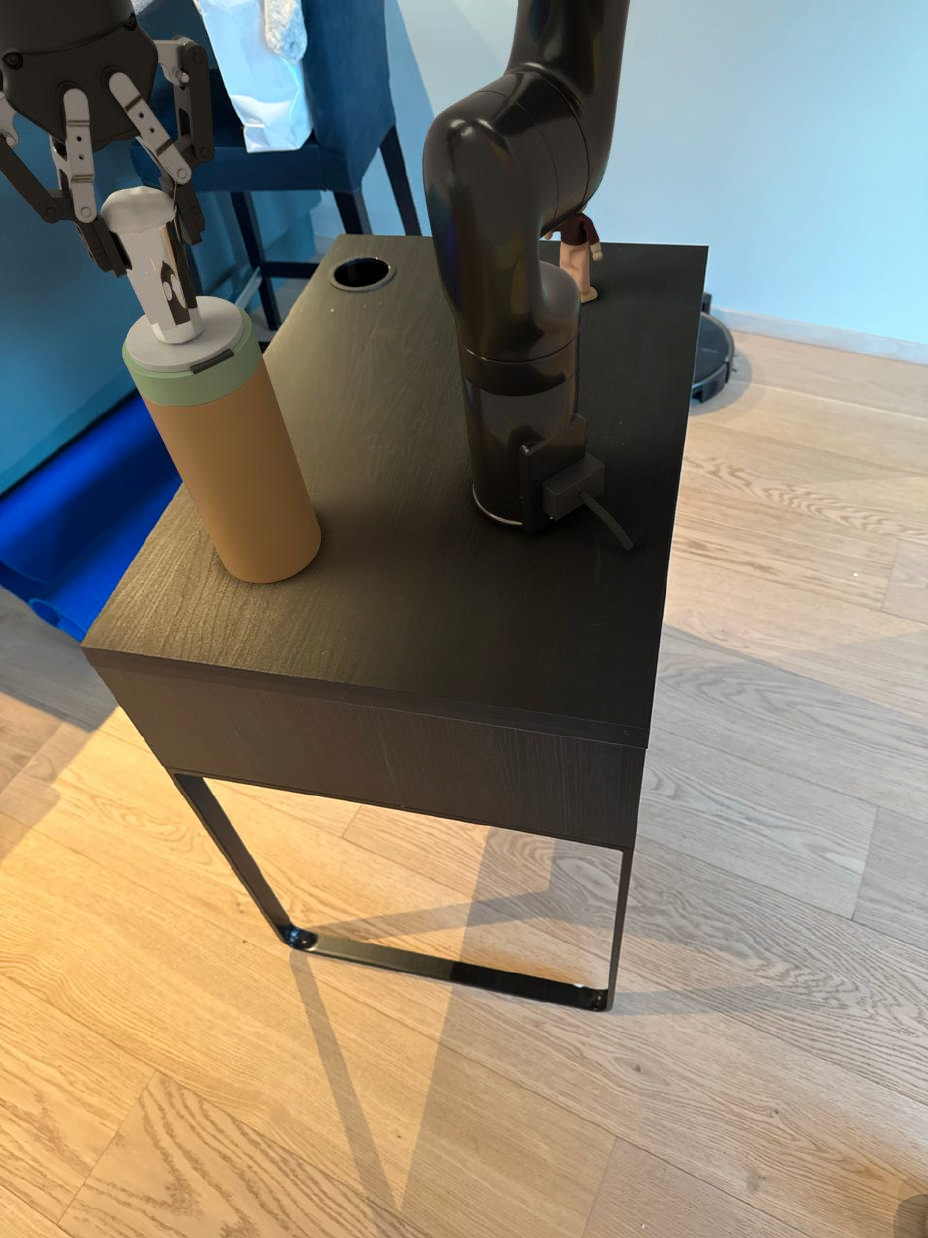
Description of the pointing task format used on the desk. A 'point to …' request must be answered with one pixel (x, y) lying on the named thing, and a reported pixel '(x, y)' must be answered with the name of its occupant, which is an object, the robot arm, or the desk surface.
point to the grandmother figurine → (578, 250)
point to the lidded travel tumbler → (228, 441)
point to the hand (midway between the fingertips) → (155, 254)
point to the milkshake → (155, 259)
